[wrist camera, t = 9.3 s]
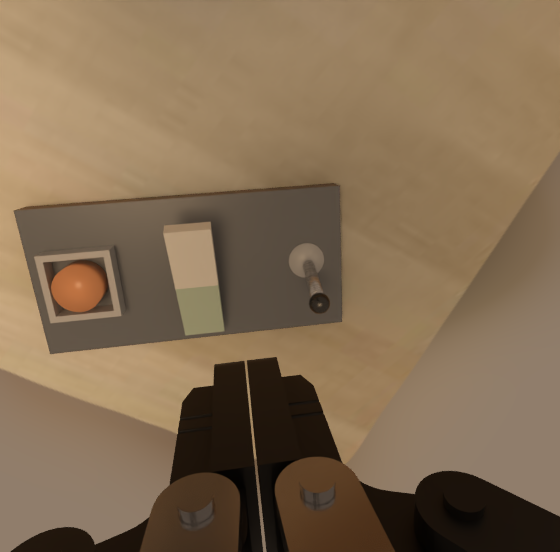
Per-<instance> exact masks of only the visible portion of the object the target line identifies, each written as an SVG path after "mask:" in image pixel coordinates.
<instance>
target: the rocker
mask: <svg viewBox="0 0 560 552" xmlns="http://www.w3.org/2000/svg"><path fill="white" fill-rule="evenodd" d="M163 235H164V239H165V244H166V249H167V253H168V258H169V262H170V267H171V272H172V276H173V281H174V285H175V290H176V294H177V299H178V304H179V308H180V313H181V317H182V322H183V326H184V331H185V336H186V335H195V334H204V333H214V332H223V331H224V319H223V311H222V304H221V296H220V289H219V281H218V274H217V266H216V258H215V251H214V243H213V236H212V228H211V222H200V223H188V224H176V225H164V231H163Z"/></svg>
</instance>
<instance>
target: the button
mask: <svg viewBox="0 0 560 552" xmlns="http://www.w3.org/2000/svg"><path fill="white" fill-rule="evenodd" d="M107 289H108V277H107V275H106V273H105V271H104V270H103V269H102V268H101V267H100V266H99V265H98V264H96V263H94V262H91V261H88V260H78V261H74V262H72V263H70V264H69V265H67V266H66V267H65V268H63V269H62V270H61V271H60V272H58V273H57V274H56V275H55V277H54V278H53V281H52V285H51V290H52V295H53V297H54V299H55V300H56V302H57V303H58V304H59V305H60V306H62V307H63V308H65V309H67V310H69V311H73V312H85V311H88V310H90V309H92V308H94V307H95V306H96V305H97V304H98V303H99V301H100V300H101V299H102V297H103V296H104V295H105V293H106V292H107Z"/></svg>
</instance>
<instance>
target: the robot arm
mask: <svg viewBox="0 0 560 552" xmlns="http://www.w3.org/2000/svg"><path fill="white" fill-rule="evenodd" d="M247 366H248V376H249V387H250V397H251V408H252V418H253V428H254V438H255V448H256V457H257V466H258V475H259V484H260V494H261V504H262V513H263V522H264V532H265V541H266V550H267V552H560V517H559V516H557V515H555V514H553V513H551V512H549V511H547V510H545V509H543V508H541V507H539V506H537V505H535V504H532V503H530V502H528V501H526V500H524V499H522V498H520V497H518V496H516V495H514V494H512V493H510V492H508V491H505V490H504V489H501V488H499V487H497V486H495V485H493V484H491V483H489V482H487V481H485V480H483V479H481V478H478V477H476V476H474V475H470V474H467V473H462V472H457V471H442V472H437V473H434V474H431V475H429V476H427V477H425V478H424V479H423V480H422V481H421V482H420V483H419V485H418V486H417V489H416V492H415V494H409V493H401V492H391V491H386V490H380V489H377V488H373V487H371V486H368V485H366V484H364V483H362V482H361V481H359V479H358V478H357V476H356V475H355V473H354V472H353V471H352V470H351V469H350V468H349V467H348V466H346V465H345V464H343V463H342V461H341V458H340V455H339V453H338V450H337V447H336V445H335V442H334V439H333V437H332V434H331V431H330V429H329V426H328V423H327V421H326V418H325V415H324V414H323V410H322V407H321V404H320V402H319V399H318V396H317V394H316V391H315V388H314V386H313V385H312V384H311V383H310V382H309V381H307V380H306V379H305V378H304V377H303V376H301V375H295V376H287V377H281V373H280V369H279V365H278V361H277V357H273V358H264V359H256V360H247ZM11 552H263V547H262V536H261V526H260V516H259V506H258V496H257V485H256V475H255V465H254V454H253V444H252V434H251V424H250V414H249V403H248V393H247V383H246V373H245V363H244V361H240V362H231V363H223V364H215V365H214V386H206V387H198V388H193V389H192V391H191V392H190V393H189V395H188V396H187V397H186V398H185V400H184V401H183V402H182V409H181V415H180V421H179V428H178V434H177V441H176V447H175V453H174V460H173V466H172V473H171V479H170V485H169V486H168V487H167V488H166V489H165V490H164V491H163V492H162V493H161V494H160V495H159V496H158V498H157V499H156V501H155V503H154V505H153V508H152V510H151V514H150V517H149V518H148V519H146V520H145V521H144V522H143V523H141V524H139V525H138V526H136V527H134V528H132V529H130V530H128V531H127V532H124V533H122V534H119V535H117V536H115V537H112V538H110V539H108V540H105V541H103V542H101V543H98V544H96V545H95V544H94V541H93V539H92V538H91V536H90V535H89V534H88V533H87V532H85V531H83V530H81V529H78V528H74V527H63V528H56V529H52V530H48V531H45V532H43V533H40V534H38V535H36V536H34V537H32V538H30V539H28V540H27V541H25V542H24V543H22V544H20V545H19V546H17V547H16V548H15V549H13V550H12V551H11Z"/></svg>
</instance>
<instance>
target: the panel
mask: <svg viewBox="0 0 560 552" xmlns="http://www.w3.org/2000/svg"><path fill="white" fill-rule="evenodd" d="M14 214H15V218H16V222H17V226H18V229H19V233H20V237H21V241H22V245H23V249H24V253H25V257H26V261H27V265H28V269H29V273H30V277H31V281H32V285H33V289H34V292H35V296H36V300H37V304H38V308H39V312H40V316H41V320H42V324H43V328H44V332H45V336H46V340H47V344H48V348H49V351H50V354H55V353H64V352H73V351H82V350H91V349H100V348H109V347H118V346H127V345H136V344H145V343H154V342H163V341H172V340H181V339H190V338H199V337H208V336H218V335H227V334H236V333H245V332H254V331H263V330H272V329H281V328H290V327H299V326H308V325H317V324H326V323H335V322H342V287H341V232H340V186H339V185H337V184H334V183H332V184H319V185H306V186H293V187H279V188H266V189H253V190H240V191H227V192H214V193H201V194H188V195H175V196H162V197H149V198H136V199H122V200H109V201H96V202H83V203H70V204H57V205H44V206H31V207H24V208H21V209H18V210H14ZM200 222H211V228H212V236H213V243H214V251H215V258H216V266H217V274H218V281H219V289H220V296H221V304H222V311H223V319H224V331H223V332H214V333H204V334H195V335H186V336H185V331H184V326H183V322H182V317H181V313H180V308H179V304H178V299H177V294H176V290H175V285H174V281H173V276H172V272H171V267H170V262H169V258H168V253H167V249H166V244H165V239H164V235H163V231H164V225H176V224H188V223H200ZM78 260H88V261H91V262H94V263H96V264H98V265H99V266H100V267H101V268H102V269H103V270H104V271H105V273H106V275H107V277H108V289H107V292H106V293H105V295H104V296H103V297H102V299H101V300H100V301H99V303H98V304H97V305H96V306H95V307H94V308H92V309H90V310H88V311H85V312H73V311H69V310H67V309H65V308H63V307H62V306H60V305H59V304H58V303H57V302H56V300H55V299H54V297H53V295H52V290H51V285H52V281H53V278H54V277H55V275H56V274H57V273H58V272H60V271H61V270H62V269H63V268H65V267H66V266H67V265H69V264H70V263H72V262H74V261H78ZM306 260H311V261H313V262H314V264H315V268H316V271H317V274H318V277H319V281H320V284H321V287H322V290H323V293H324V294H325V295H327V296H328V298H329V300H330V307H329V309H328V310H327V311H326V312H325V313H323V314H317V313H314V312H313V311H312V310H311V309H310V307H309V299H310V297H311V296H310V292H309V289H308V285H307V281H306V278H305V274H304V270H303V263H304V261H306Z"/></svg>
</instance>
